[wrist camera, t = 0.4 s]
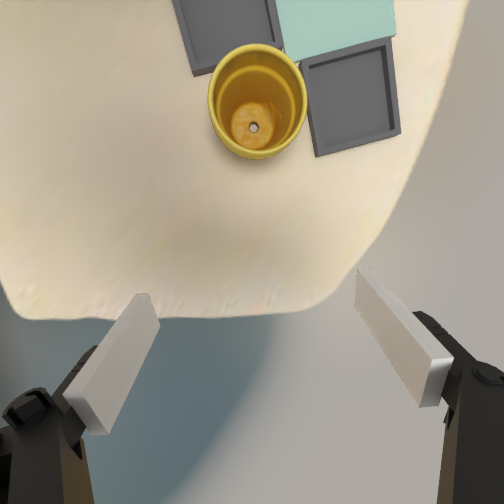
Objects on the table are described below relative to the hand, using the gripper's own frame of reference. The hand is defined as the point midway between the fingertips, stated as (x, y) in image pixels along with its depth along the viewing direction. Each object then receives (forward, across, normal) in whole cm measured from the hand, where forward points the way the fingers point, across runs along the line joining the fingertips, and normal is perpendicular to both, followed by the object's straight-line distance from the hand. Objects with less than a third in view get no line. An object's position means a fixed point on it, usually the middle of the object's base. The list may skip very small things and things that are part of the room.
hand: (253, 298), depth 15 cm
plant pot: (+26, +2, +10) cm, 28 cm away
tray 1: (+28, 0, +24) cm, 37 cm away
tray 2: (+27, +15, +12) cm, 33 cm away
